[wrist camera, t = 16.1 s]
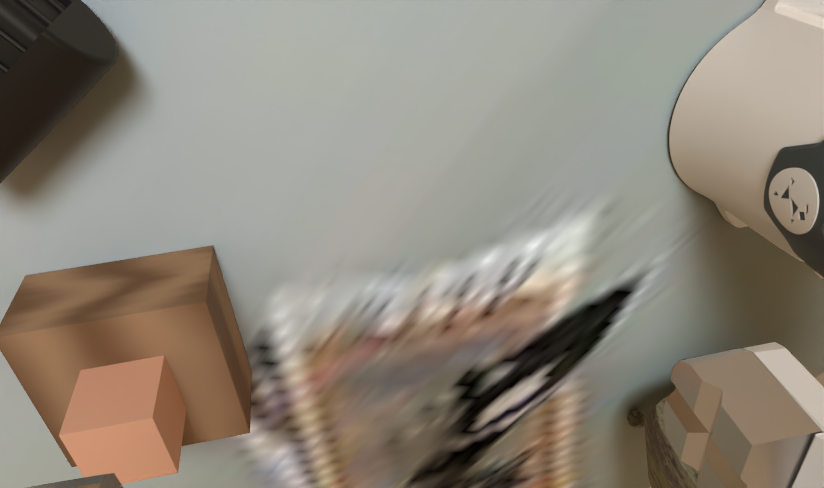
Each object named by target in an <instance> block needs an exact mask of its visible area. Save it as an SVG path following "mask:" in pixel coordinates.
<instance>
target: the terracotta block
mask: <svg viewBox="0 0 824 488" xmlns="http://www.w3.org/2000/svg"><path fill="white" fill-rule="evenodd" d="M185 417H186V407H185V404H184V402H183V400H182V397H181V395H180V392H179V390H178V387H177V385H176V383H175V380H174V378H173V375H172V373H171V370H170V368H169V365H168V363H167V361H166V358H165V356H158V357H152V358H147V359H141V360H135V361H130V362H124V363H118V364H113V365H107V366H102V367H96V368H90V369H85V370H81V371H80V374H79V377H78V380H77V383H76V386H75V389H74V391H73V394H72V397H71V400H70V403H69V406H68V409H67V412H66V415H65V418H64V421H63V424H62V427H61V430H60V433H59V437H60V438H61V440H62V442H63V443H64V445H65V447H66V448H67V450H68V452H69V453H70V455H71V457H72V458H73V460H74V462H75V463H76V465H77V467H78V468H79V470H80V472H81V473H82V475H83V477H84V478H85V477H91V476H97V475H103V474H110V473H115V475H116V477H117V478H118V480H119V481H120V483H121V484H124V483H129V482H134V481H140V480H145V479H150V478H155V477H160V476H165V475H170V474H175V473H178V468H179V460H180V453H181V446H182V438H183V431H184V424H185Z"/></svg>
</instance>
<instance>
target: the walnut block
mask: <svg viewBox="0 0 824 488" xmlns="http://www.w3.org/2000/svg"><path fill="white" fill-rule="evenodd" d="M0 350H1V352H2V354H3V355H4V357H5V358H6V360H7V362H8V363H9V365H10V367H11V368H12V370H13V372H14V373H15V375H16V376H17V378H18V380H19V381H20V383H21V385H22V386H23V388H24V390H25V391H26V393H27V394H28V396H29V398H30V399H31V401H32V403H33V404H34V406H35V408H36V409H37V411H38V412H39V414H40V416H41V417H42V419H43V421H44V422H45V424H46V426H47V427H48V429H49V430H50V432H51V434H52V435H53V437H54V439H55V440H56V442H57V444H58V445H59V447H60V448H61V450H62V452H63V453H64V455H65V457H66V458H67V460H68V462H69V463H70V465H71V466H72V467H75V466H77V465H76V463H75V462H74V460H73V458H72V457H71V455H70V453H69V452H68V450H67V448H66V447H65V445H64V443H63V442H62V440H61V438H60V437H59V433H60V430H61V427H62V424H63V421H64V418H65V415H66V412H67V409H68V406H69V403H70V400H71V397H72V394H73V391H74V389H75V386H76V383H77V380H78V377H79V374H80V371H81V370H85V369H90V368H96V367H102V366H107V365H113V364H118V363H124V362H130V361H135V360H141V359H147V358H152V357H158V356H165V358H166V361H167V363H168V365H169V368H170V370H171V373H172V375H173V378H174V380H175V383H176V385H177V387H178V390H179V392H180V395H181V397H182V400H183V402H184V404H185V407H186V417H185V424H184V431H183V438H182V446H184V445H189V444H194V443H200V442H205V441H210V440H215V439H220V438H225V437H231V436H236V435H241V434H246V433H250V409H251V376H252V371H251V368H250V364H249V361H248V358H247V355H246V351H245V348H244V345H243V342H242V338H241V335H240V332H239V329H238V325H237V322H236V319H235V316H234V312H233V309H232V306H231V303H230V299H229V296H228V293H227V290H226V286H225V283H224V280H223V277H222V273H221V270H220V267H219V264H218V260H217V257H216V254H215V251H214V247H213V246H207V247H201V248H195V249H189V250H183V251H176V252H170V253H164V254H158V255H151V256H145V257H139V258H133V259H126V260H120V261H114V262H108V263H102V264H95V265H89V266H83V267H77V268H70V269H64V270H58V271H52V272H46V273H39V274H33V275H27V276H25V277H24V279H23V281H22V283H21V285H20V287H19V289H18V291H17V293H16V295H15V297H14V299H13V301H12V302H11V304H10V306H9V308H8V310H7V312H6V314H5V316H4V318H3V320H2V322H1V324H0Z"/></svg>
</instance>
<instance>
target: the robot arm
mask: <svg viewBox="0 0 824 488" xmlns="http://www.w3.org/2000/svg"><path fill="white" fill-rule="evenodd" d="M669 146H670V154H671V159H672V162H673V165H674V167H675V170H676V172H677V173H678V175H679V177H680V178H681V179H682V180H683V182H684V183H685V184H686V185H687V186H689V187H690V188H691V189H692V190H694V191H696V192H697V193H699V194H701V195H703V196H705V197H707V198H708V199H710V200H712V201H713V202H714V203H715V204H716V206H717V208H718V210H719V212H720V214H721V215H722V217H723V218H724V219H725V220H726V221H727V222H729V223H730V224H732V225H733V226H735V227H737V228H744V227H750V228H751V229H753V230H754V231H756V232H757V233H759V234H760V235H762V236H763V237H765V238H766V239H767V240H769V241H770V242H772V243H773V244H775V245H776V246H778V247H779V248H781V249H782V250H784V251H785V252H787V253H788V254H790V255H791V256H793V257H795V258H796V259H798V260H800V261H802V262H805V263H806V264H808V265H809V266H810V267H811V268H812V269H813V270H815V272H814V273H815V274H817V275H818V276H819V277H820V278H822V279H823V280H824V0H766V1H765V2H764V3H763V5H762V6H761V8H759V9H758V10H757V11H756V12H755V13H754V14H753V15H752V16H750V17H749V18H748V19H747V20H745V21H744V22H743V23H741V24H740V25H739V26H737V27H736V28H735V29H733V30H732V31H731V32H729V33H728V34H727V35H726V36H725V37H723V38H722V39H721V40H720V41H719V42H718V43H717V44H716V45H715V46H714V47H713V48H712V49H711V50H710V51H709V52H708V53H707V55H706V56H705V57H704V58H703V59H702V60H701V62H700V63H699V64H698V66H697V67H696V68H695V70H694V71H693V73H692V74H691V76H690V77H689V79H688V81H687V82H686V84H685V86H684V88H683V90H682V92H681V94H680V96H679V99H678V101H677V104H676V107H675V109H674V113H673V116H672V121H671V126H670V136H669ZM670 379H671V381H672V382H673V384H674V385H675V386H676V389H675V390H674V391H673V392H672V393H671V394H670V395H669V396H668V397H667V398H666V400H665V406H664V411H663V418H664V424H665V430H666V433H667V436H668V438H669V441H670V443H671V446H672V447H673V449H674V451H675V452H676V454H677V455H678V457H679V459H680V460H681V461H683V462H684V463H686V464H688V465H689V466H691V467H693V468H694V469H696V470H698V478H697V487H698V488H824V387H823V386H822V385H821V384H820V383H819V382H818V381H817V380H816V379H815V378H814V377H813V376H812V375H811V374H810V373H809V372H808V371H807V370H806V369H805V367H804V366H803V365H802V364H801V363H800V362H799V361H798V360H797V359H796V358H795V357H794V356H793V355H792V354H791V353H790V352H789V351H788V350H787V349H786V348H785V347H784V346H782V345H780V344H778V343H776V342H772V343H767V344H762V345H756V346H751V347H746V348H742V349H733V350H728V351H723V352H719V353H714V354H709V355H704V356H699V357H695V358H690V359H685V360H680V361H678V363H677V364H676V365H675V366H674V367H673V370H672V374H671V378H670ZM27 488H123V486H122V485H121V483H120V481H119V480H118V478H117V477H116V475H115V473H110V474H103V475H97V476H91V477H85V478H79V479H73V480H67V481H61V482H56V483H50V484H44V485H38V486H32V487H27Z"/></svg>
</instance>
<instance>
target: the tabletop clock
mask: <svg viewBox="0 0 824 488" xmlns="http://www.w3.org/2000/svg"><path fill="white" fill-rule="evenodd" d="M684 360H685V359H684ZM667 397H668V396H667ZM667 397H665V398H664V399H662V400H661V401H660V402H659V403H657V404H656V405H655V406H654V407H653V408H651V409H650V410H649V411H648V412H647V413H646V414H645V415H644V414H643V413H641V412H640V411H638V410H636V411H631V412H630V413H629V415H628V417H627V419H628V422H629V424H630V425H631V426H633V427H634V428H638V427H641V426H643V425H645V437H646V449H647V462H648V474H649V480H650V483H651V487H652V488H698V487H697V478H698V470H696V469H694V468H693V467H691V466H689V465H688V464H686V463H684V462H683V461H681V460H680V459H679V457H678V455H677V454H676V452H675V451H674V449H673V447H672V446H671V443H670V441H669V438H668V436H667V433H666V430H665V424H664V418H663V411H664V406H665V400H666V398H667Z"/></svg>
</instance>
